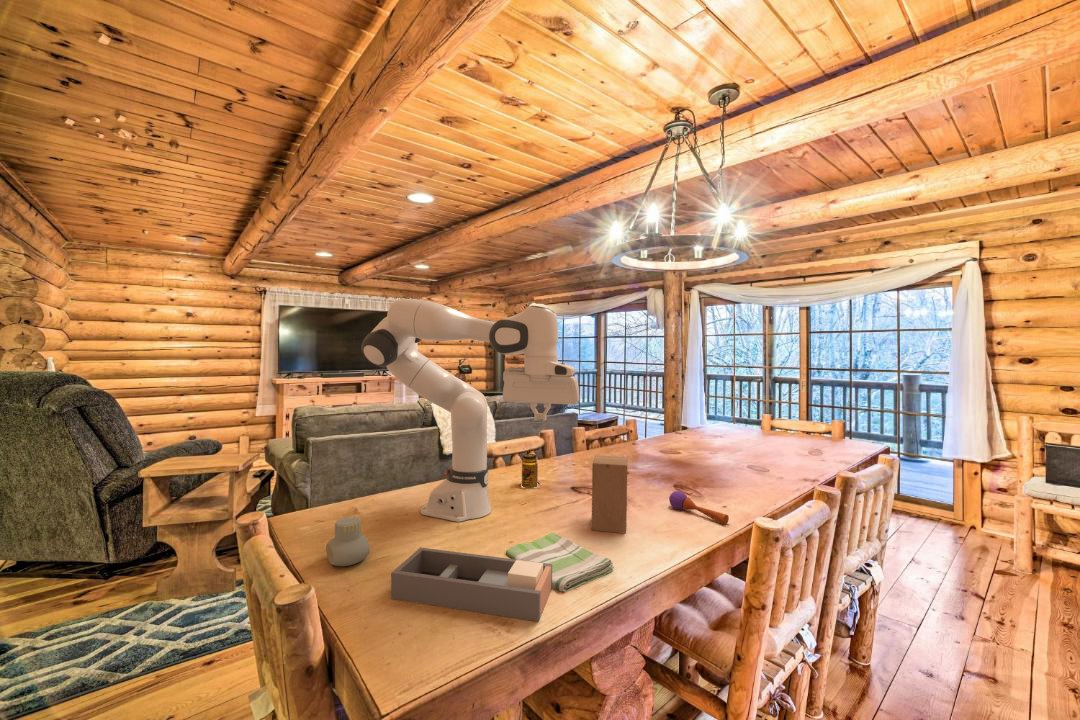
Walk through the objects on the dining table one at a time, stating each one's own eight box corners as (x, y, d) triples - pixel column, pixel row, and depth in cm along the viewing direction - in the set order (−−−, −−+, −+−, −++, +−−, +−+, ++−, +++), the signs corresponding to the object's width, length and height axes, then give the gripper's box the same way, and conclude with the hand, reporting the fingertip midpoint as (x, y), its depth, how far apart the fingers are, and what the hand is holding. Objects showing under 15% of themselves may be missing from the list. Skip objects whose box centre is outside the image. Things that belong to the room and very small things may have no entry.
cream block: (507, 592, 92) (507, 573, 91) (516, 577, 97) (516, 559, 97) (536, 596, 90) (536, 577, 90) (542, 581, 96) (543, 563, 96)
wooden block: (626, 534, 128) (627, 464, 128) (591, 530, 130) (592, 462, 130) (626, 520, 138) (627, 456, 138) (594, 518, 140) (595, 454, 140)
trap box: (391, 598, 94) (391, 572, 94) (420, 570, 106) (420, 547, 106) (538, 621, 87) (539, 593, 87) (551, 588, 99) (552, 564, 99)
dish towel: (561, 596, 97) (561, 580, 97) (503, 556, 115) (503, 542, 115) (615, 573, 107) (616, 558, 107) (554, 539, 125) (555, 527, 125)
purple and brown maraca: (720, 515, 134) (665, 492, 150) (720, 532, 135) (665, 508, 151) (731, 507, 137) (676, 486, 153) (731, 525, 138) (676, 501, 154)
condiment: (520, 488, 169) (520, 457, 169) (521, 481, 177) (521, 451, 177) (539, 488, 169) (539, 457, 168) (539, 482, 177) (540, 452, 177)
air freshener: (372, 564, 109) (372, 523, 109) (336, 575, 104) (336, 532, 103) (358, 548, 117) (358, 510, 117) (324, 557, 112) (324, 518, 112)
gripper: (499, 367, 117) (499, 420, 117) (577, 369, 112) (576, 424, 112) (506, 366, 123) (506, 416, 123) (580, 368, 118) (580, 420, 119)
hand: (540, 420), depth 118 cm, fingers closed
